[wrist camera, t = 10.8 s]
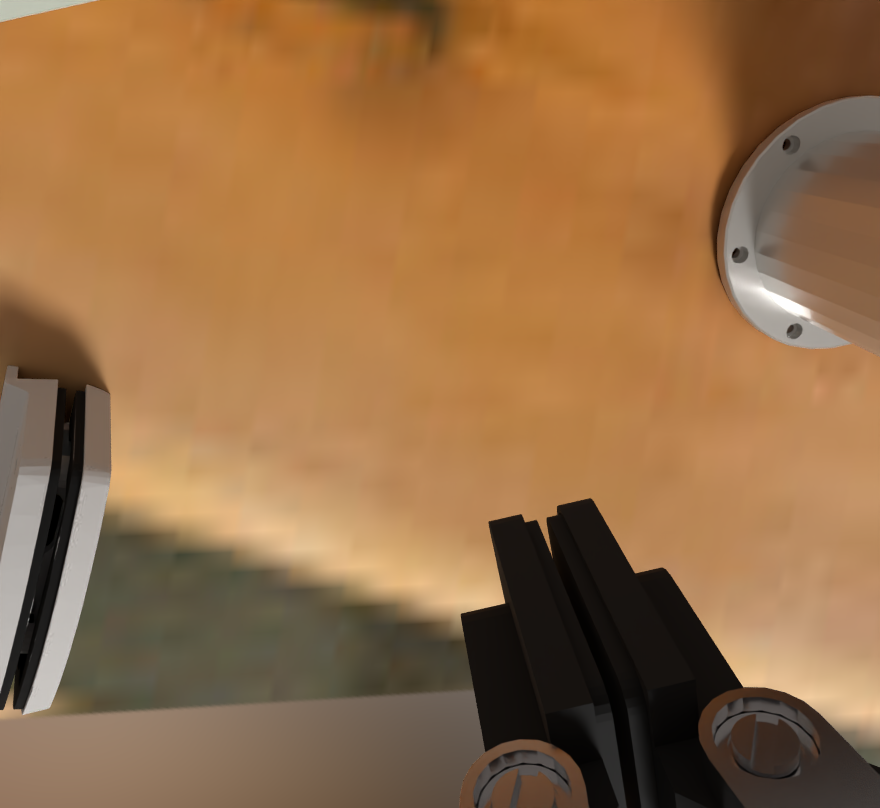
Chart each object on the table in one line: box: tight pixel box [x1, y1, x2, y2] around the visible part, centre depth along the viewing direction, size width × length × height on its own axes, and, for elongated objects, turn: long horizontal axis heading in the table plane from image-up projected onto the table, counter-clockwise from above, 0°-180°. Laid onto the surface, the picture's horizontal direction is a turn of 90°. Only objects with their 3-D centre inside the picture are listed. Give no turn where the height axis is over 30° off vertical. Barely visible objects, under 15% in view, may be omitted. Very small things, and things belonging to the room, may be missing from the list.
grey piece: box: [0, 366, 111, 715], centre depth 37 cm, size 17×5×10 cm, turn 158°
